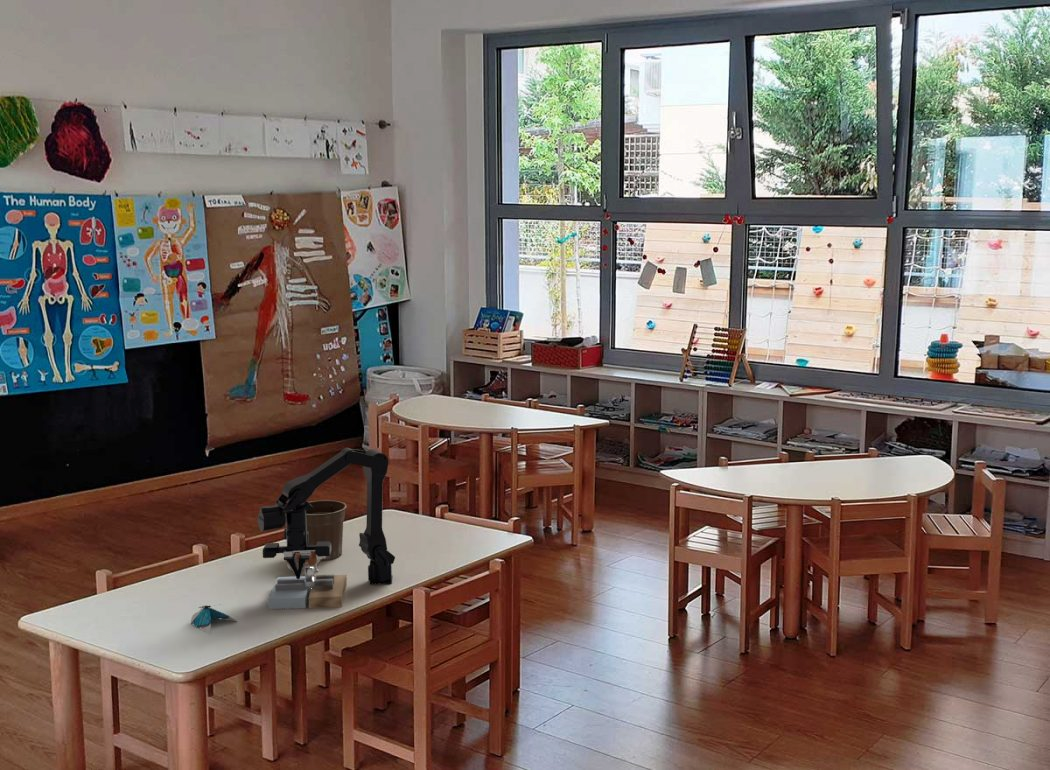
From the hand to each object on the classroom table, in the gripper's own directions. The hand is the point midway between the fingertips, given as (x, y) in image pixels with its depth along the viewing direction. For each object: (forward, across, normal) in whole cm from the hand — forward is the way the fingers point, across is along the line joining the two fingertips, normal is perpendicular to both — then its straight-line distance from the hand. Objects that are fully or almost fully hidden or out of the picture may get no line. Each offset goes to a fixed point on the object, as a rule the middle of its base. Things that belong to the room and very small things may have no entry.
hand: (298, 578), depth 309 cm
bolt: (+2, -6, 0) cm, 6 cm away
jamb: (+6, -8, 0) cm, 10 cm away
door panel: (+6, +2, 0) cm, 6 cm away
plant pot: (+6, -3, -37) cm, 38 cm away
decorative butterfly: (+6, +21, +18) cm, 29 cm away
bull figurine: (+6, 0, -21) cm, 22 cm away
